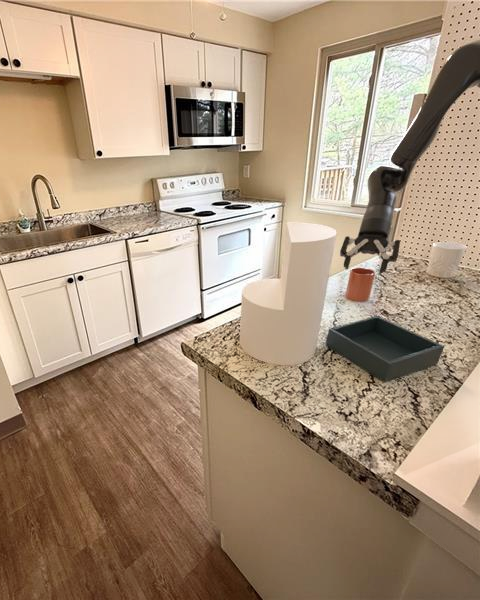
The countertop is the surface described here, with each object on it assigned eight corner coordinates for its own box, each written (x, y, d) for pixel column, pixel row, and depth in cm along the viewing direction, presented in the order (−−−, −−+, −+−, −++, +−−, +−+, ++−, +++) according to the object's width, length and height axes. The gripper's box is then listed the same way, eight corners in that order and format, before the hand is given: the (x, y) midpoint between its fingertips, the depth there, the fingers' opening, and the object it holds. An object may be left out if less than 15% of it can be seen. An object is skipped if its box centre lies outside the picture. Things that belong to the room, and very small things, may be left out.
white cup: (454, 280, 98) (465, 250, 94) (422, 275, 103) (431, 246, 99) (457, 273, 102) (468, 243, 98) (426, 268, 108) (435, 240, 104)
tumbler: (355, 291, 97) (361, 266, 93) (373, 299, 92) (380, 272, 88) (340, 295, 96) (345, 269, 92) (357, 303, 90) (364, 276, 87)
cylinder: (311, 329, 80) (329, 221, 68) (320, 370, 66) (345, 242, 54) (241, 323, 86) (247, 222, 74) (236, 359, 72) (242, 242, 60)
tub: (372, 331, 77) (377, 315, 75) (437, 364, 64) (444, 346, 62) (325, 345, 74) (328, 328, 72) (384, 382, 61) (389, 364, 59)
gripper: (349, 215, 96) (335, 261, 94) (407, 217, 88) (395, 268, 85) (348, 228, 102) (336, 272, 99) (403, 231, 94) (391, 279, 91)
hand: (363, 270), depth 92 cm, fingers open, 8 cm apart
